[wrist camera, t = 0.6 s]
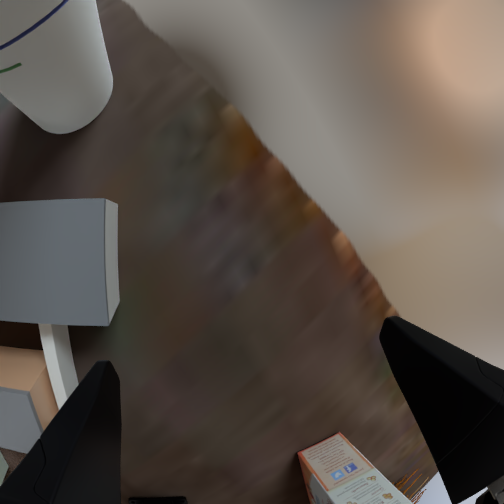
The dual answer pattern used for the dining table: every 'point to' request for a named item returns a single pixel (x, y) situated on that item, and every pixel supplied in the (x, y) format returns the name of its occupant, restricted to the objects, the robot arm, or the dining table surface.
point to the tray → (2, 468)
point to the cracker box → (344, 475)
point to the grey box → (24, 398)
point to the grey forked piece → (59, 274)
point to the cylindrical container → (54, 62)
